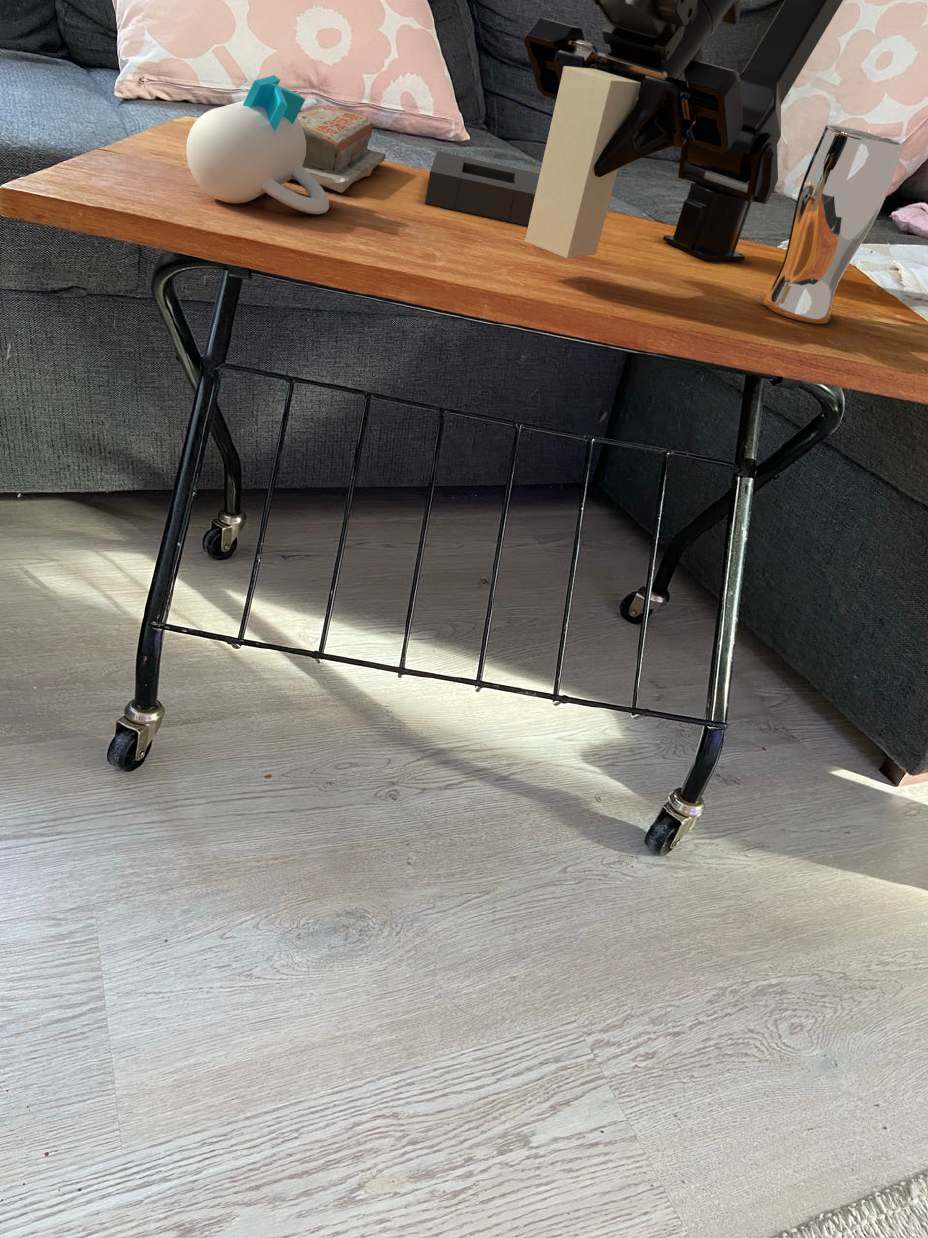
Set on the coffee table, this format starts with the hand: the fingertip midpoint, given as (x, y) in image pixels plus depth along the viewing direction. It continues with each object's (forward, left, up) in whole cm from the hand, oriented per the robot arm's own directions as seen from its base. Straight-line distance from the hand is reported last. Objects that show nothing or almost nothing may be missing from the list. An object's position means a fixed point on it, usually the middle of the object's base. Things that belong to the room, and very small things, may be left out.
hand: (571, 163), depth 77 cm
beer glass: (-23, +9, -9) cm, 27 cm away
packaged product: (+5, -32, -9) cm, 34 cm away
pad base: (-9, -22, -9) cm, 26 cm away
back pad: (-1, 0, -7) cm, 7 cm away
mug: (+17, -19, -9) cm, 27 cm away
